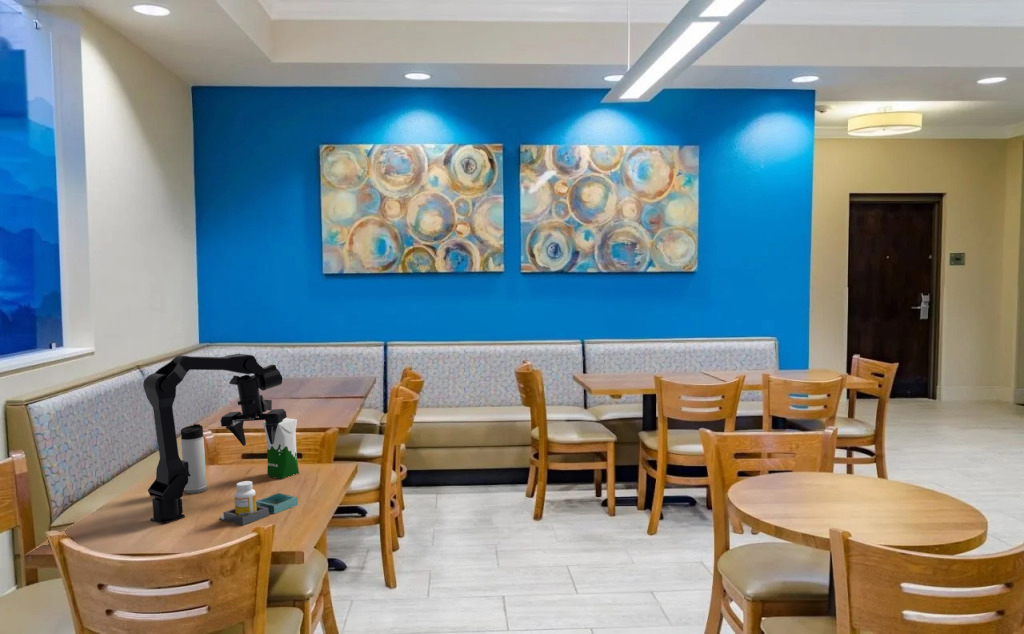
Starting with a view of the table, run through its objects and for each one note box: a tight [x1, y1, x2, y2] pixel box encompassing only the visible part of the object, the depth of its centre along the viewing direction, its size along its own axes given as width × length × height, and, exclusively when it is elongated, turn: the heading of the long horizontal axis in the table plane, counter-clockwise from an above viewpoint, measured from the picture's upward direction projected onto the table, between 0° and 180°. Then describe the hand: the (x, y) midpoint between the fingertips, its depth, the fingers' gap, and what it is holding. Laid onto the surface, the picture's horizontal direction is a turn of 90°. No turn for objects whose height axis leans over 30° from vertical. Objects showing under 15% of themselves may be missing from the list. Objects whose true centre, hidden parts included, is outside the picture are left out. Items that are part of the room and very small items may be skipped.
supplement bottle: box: [234, 480, 257, 516], centre depth 196 cm, size 5×5×10 cm
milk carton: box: [262, 417, 300, 480], centre depth 235 cm, size 9×9×20 cm
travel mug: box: [180, 423, 208, 495], centre depth 221 cm, size 6×7×20 cm
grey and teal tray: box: [218, 492, 299, 526], centre depth 201 cm, size 18×10×2 cm, turn 147°
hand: (258, 444), depth 219 cm, fingers open, 9 cm apart
